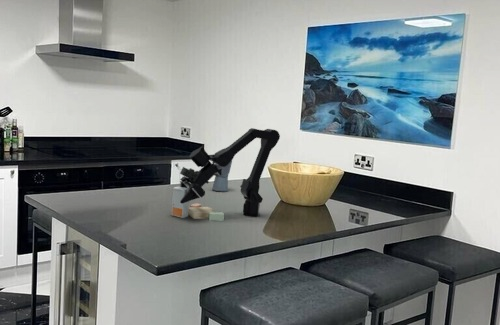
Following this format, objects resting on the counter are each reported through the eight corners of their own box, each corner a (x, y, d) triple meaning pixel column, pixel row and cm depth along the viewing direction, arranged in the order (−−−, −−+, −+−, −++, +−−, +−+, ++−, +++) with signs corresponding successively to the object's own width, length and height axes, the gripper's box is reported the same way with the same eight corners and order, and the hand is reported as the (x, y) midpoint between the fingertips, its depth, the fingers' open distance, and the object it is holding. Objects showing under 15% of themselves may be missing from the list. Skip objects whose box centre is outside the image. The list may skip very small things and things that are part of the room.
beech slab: (208, 212, 216) (209, 207, 216) (216, 218, 207) (216, 212, 207) (186, 212, 212) (187, 207, 212) (193, 218, 203) (194, 212, 203)
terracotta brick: (195, 209, 220) (195, 203, 220) (201, 210, 220) (201, 204, 219) (189, 212, 215) (189, 205, 214) (195, 213, 214) (195, 206, 213)
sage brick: (222, 219, 207) (223, 212, 207) (223, 221, 204) (224, 214, 204) (208, 219, 206) (208, 212, 205) (209, 220, 203) (209, 213, 202)
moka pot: (234, 190, 274) (237, 155, 272) (218, 193, 261) (221, 156, 259) (220, 187, 279) (223, 153, 277) (204, 190, 266) (207, 154, 264)
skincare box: (170, 215, 205) (172, 187, 204) (176, 214, 209) (178, 186, 208) (182, 218, 203) (184, 189, 201) (188, 216, 206) (190, 188, 205)
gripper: (186, 157, 213) (159, 182, 210) (199, 164, 196) (170, 191, 193) (202, 176, 217) (176, 200, 214) (216, 183, 200) (188, 210, 197)
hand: (177, 200), depth 204 cm, fingers open, 9 cm apart
